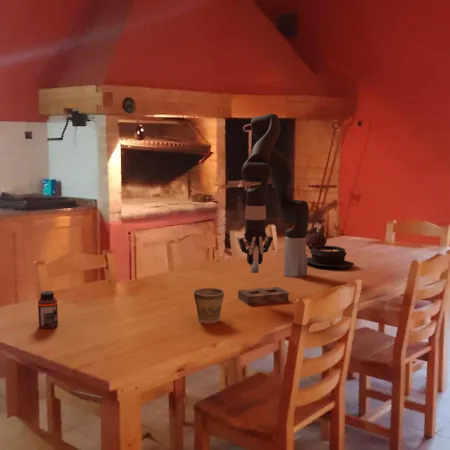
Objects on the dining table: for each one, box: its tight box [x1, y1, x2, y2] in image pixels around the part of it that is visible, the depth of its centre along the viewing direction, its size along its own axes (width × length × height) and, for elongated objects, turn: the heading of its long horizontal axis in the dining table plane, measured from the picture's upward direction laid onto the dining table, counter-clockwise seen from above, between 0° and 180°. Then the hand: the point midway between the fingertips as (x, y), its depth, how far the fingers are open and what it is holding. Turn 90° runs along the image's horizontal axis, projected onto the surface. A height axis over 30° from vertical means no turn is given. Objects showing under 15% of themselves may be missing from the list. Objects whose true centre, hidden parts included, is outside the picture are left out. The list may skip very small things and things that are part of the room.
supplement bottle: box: [37, 290, 59, 329], centre depth 204 cm, size 6×6×11 cm
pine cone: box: [306, 231, 328, 251], centre depth 335 cm, size 18×10×10 cm, turn 137°
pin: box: [250, 245, 260, 274], centre depth 233 cm, size 3×3×10 cm
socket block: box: [237, 286, 290, 306], centre depth 237 cm, size 16×10×4 cm, turn 110°
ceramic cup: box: [193, 287, 225, 325], centre depth 212 cm, size 13×10×10 cm
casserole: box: [307, 245, 355, 269], centre depth 298 cm, size 25×19×8 cm
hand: (254, 263), depth 234 cm, fingers closed on pin, 3 cm apart
